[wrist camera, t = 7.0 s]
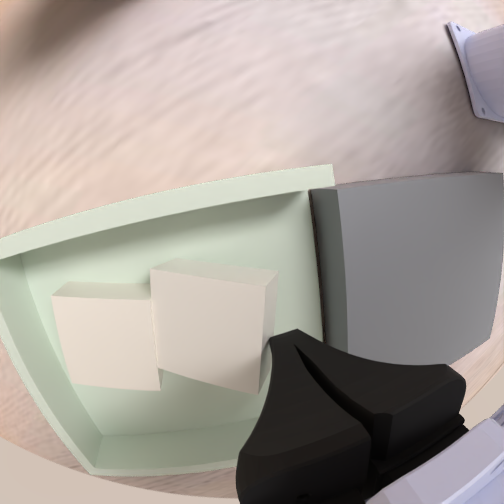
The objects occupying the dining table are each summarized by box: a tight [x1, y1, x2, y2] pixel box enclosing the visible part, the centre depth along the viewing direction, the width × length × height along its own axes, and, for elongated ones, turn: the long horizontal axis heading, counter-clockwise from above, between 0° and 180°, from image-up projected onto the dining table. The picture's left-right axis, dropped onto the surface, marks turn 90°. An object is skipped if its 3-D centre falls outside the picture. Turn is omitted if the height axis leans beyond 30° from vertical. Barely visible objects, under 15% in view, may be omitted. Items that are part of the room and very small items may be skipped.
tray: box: [0, 164, 335, 476], centre depth 12 cm, size 15×14×4 cm
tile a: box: [150, 258, 279, 395], centre depth 11 cm, size 4×4×2 cm
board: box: [311, 172, 504, 366], centre depth 14 cm, size 13×12×3 cm
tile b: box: [51, 281, 164, 391], centre depth 12 cm, size 4×4×2 cm
